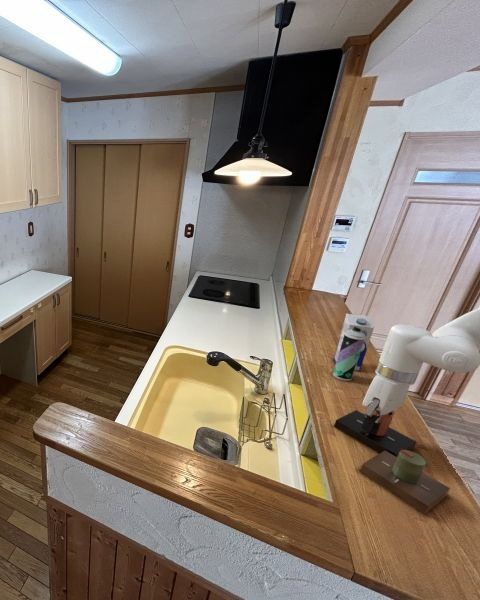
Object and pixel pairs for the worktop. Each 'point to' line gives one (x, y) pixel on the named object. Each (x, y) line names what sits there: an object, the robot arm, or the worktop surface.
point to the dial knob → (383, 423)
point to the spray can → (349, 354)
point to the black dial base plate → (388, 442)
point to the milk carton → (366, 328)
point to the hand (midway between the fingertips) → (374, 427)
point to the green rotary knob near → (408, 466)
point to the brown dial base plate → (405, 483)
